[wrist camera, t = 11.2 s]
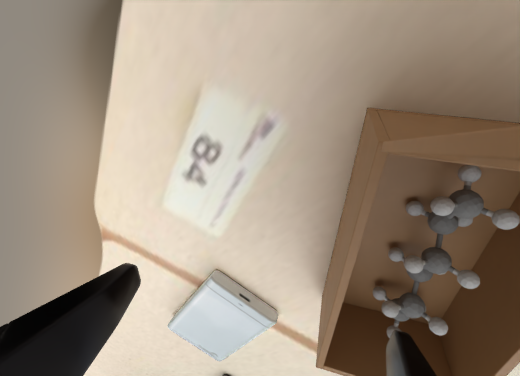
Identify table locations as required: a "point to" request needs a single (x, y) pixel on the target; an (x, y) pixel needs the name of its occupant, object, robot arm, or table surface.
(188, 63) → the table surface
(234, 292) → the hard drive
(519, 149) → the carton flap
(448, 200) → the molecular model
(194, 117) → the table surface
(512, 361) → the carton
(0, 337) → the robot arm
